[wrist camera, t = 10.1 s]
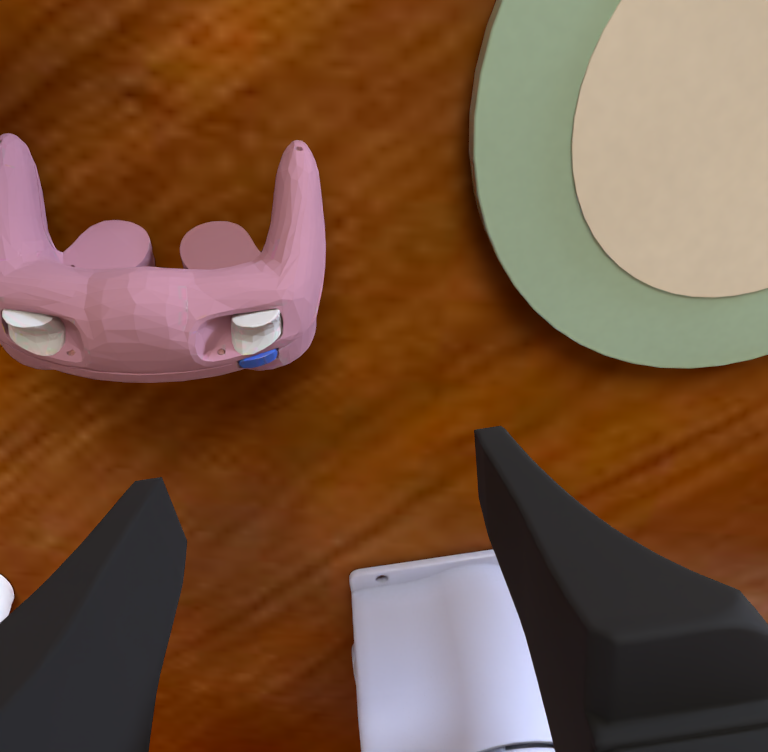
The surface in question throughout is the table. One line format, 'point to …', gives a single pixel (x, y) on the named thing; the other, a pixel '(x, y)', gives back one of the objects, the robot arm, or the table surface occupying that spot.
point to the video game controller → (159, 286)
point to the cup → (5, 597)
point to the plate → (630, 172)
